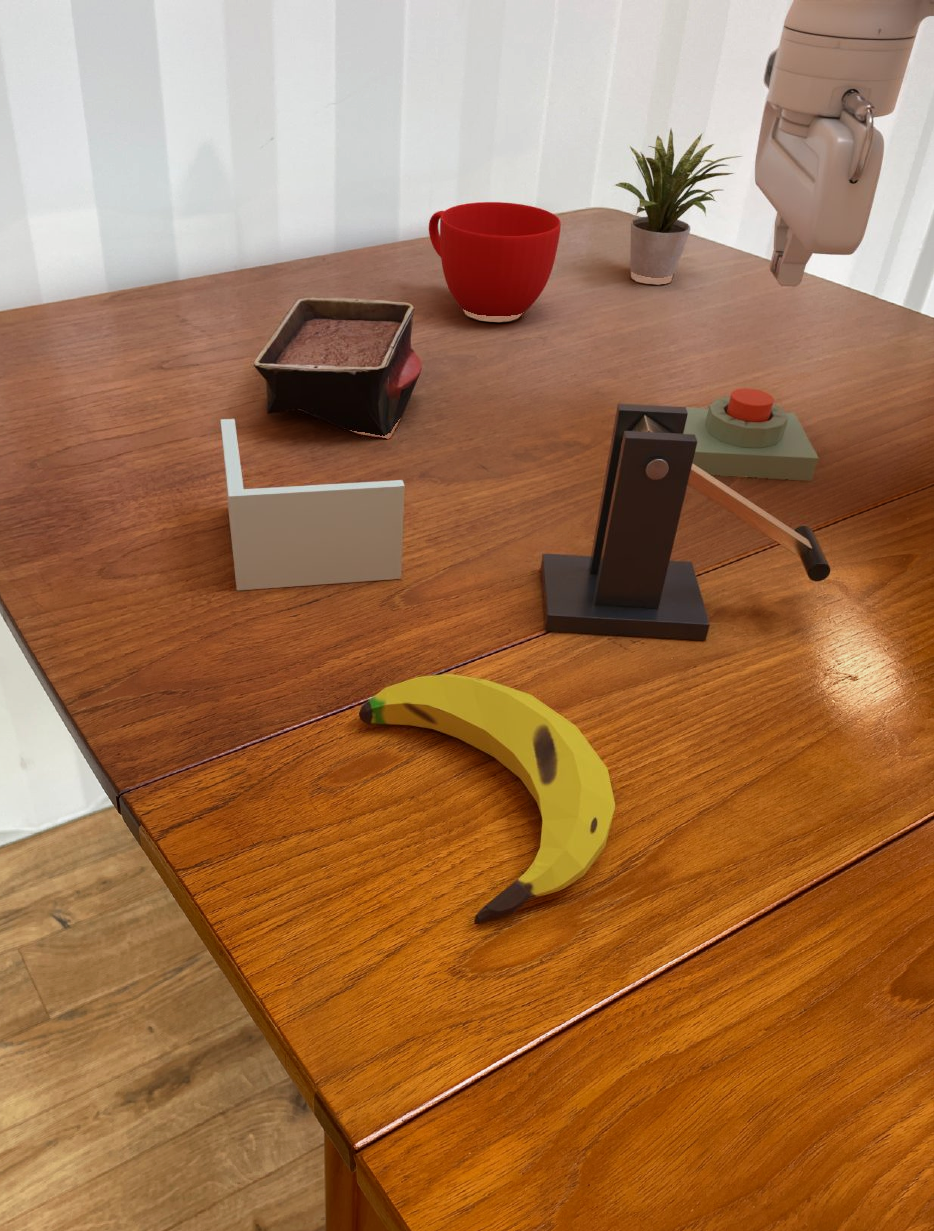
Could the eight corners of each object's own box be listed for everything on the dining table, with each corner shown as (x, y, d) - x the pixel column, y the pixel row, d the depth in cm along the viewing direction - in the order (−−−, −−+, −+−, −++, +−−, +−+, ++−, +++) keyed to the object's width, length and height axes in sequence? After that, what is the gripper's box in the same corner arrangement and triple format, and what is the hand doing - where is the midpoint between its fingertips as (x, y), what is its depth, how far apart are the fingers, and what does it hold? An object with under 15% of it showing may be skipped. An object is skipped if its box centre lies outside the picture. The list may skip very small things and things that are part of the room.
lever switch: (796, 551, 74) (822, 526, 73) (813, 590, 70) (841, 565, 69) (618, 434, 69) (642, 405, 68) (626, 469, 66) (651, 439, 64)
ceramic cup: (466, 277, 128) (472, 188, 121) (573, 316, 119) (586, 221, 112) (388, 300, 121) (390, 207, 115) (495, 343, 112) (504, 244, 105)
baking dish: (239, 448, 96) (233, 349, 89) (301, 348, 107) (301, 253, 100) (390, 481, 95) (397, 383, 87) (437, 376, 106) (447, 281, 98)
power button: (764, 408, 92) (769, 389, 91) (772, 426, 90) (778, 406, 89) (722, 406, 93) (727, 387, 91) (730, 423, 90) (735, 404, 89)
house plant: (683, 310, 121) (716, 153, 110) (574, 286, 126) (596, 133, 116) (725, 278, 130) (759, 130, 119) (622, 256, 136) (646, 113, 125)
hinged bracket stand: (688, 577, 78) (732, 399, 69) (705, 641, 72) (757, 455, 63) (540, 569, 78) (565, 391, 69) (545, 631, 72) (573, 445, 63)
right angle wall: (401, 578, 77) (404, 485, 72) (236, 590, 75) (228, 496, 70) (375, 499, 86) (377, 411, 81) (228, 508, 84) (220, 419, 79)
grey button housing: (788, 435, 97) (800, 393, 94) (811, 481, 90) (825, 438, 87) (668, 429, 97) (677, 387, 95) (682, 474, 90) (692, 431, 88)
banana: (407, 626, 65) (254, 788, 57) (669, 722, 57) (533, 925, 49) (415, 679, 68) (271, 839, 60) (663, 777, 60) (535, 975, 52)
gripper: (928, 110, 67) (859, 329, 76) (844, 56, 82) (795, 243, 91) (828, 106, 67) (770, 324, 76) (763, 53, 82) (722, 239, 91)
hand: (783, 279), depth 84 cm, fingers closed
